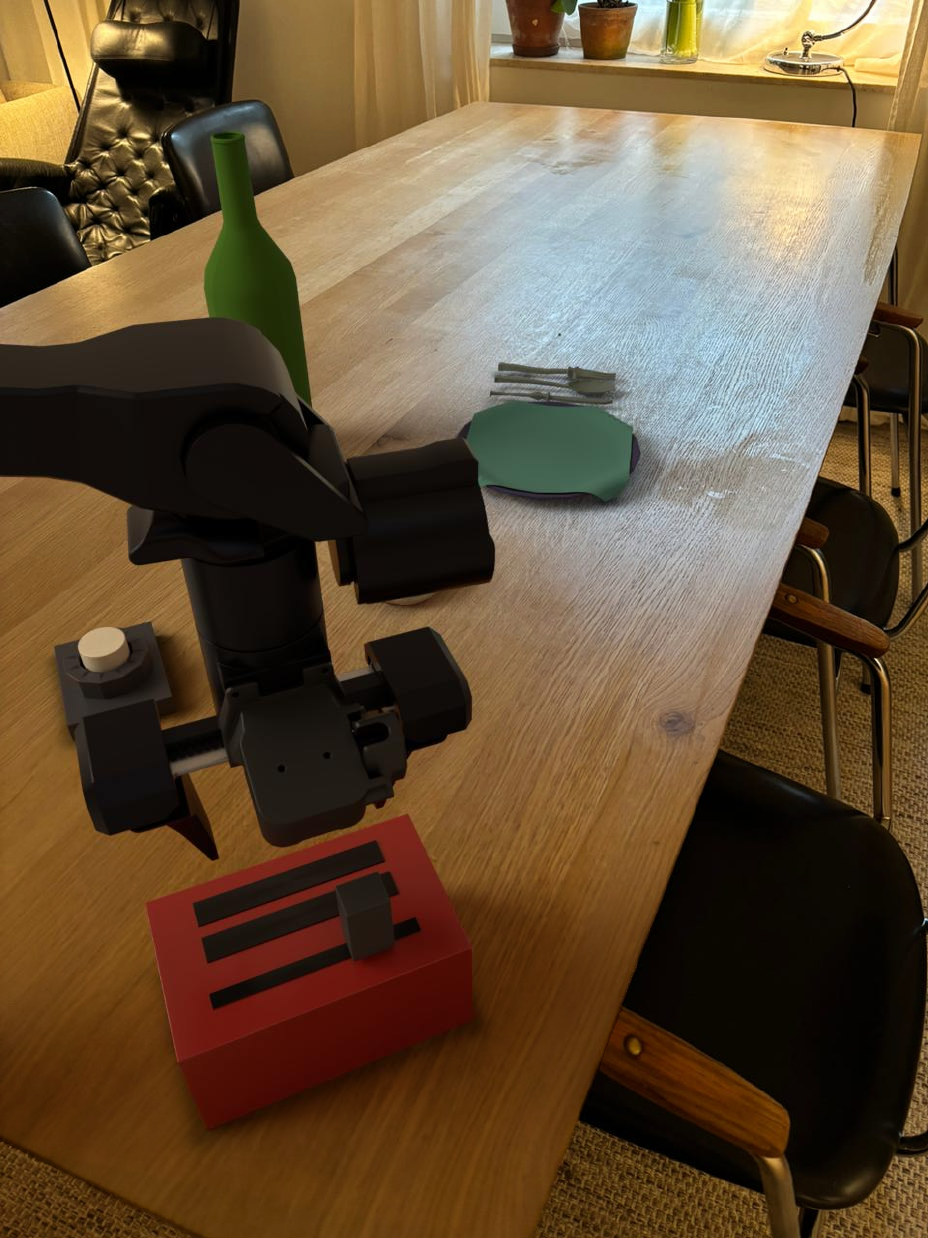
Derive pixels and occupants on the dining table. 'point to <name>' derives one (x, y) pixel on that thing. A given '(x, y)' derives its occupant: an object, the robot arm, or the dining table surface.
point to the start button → (104, 649)
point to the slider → (365, 916)
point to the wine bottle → (252, 265)
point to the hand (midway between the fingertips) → (297, 827)
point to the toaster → (305, 970)
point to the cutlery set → (553, 440)
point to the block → (113, 678)
